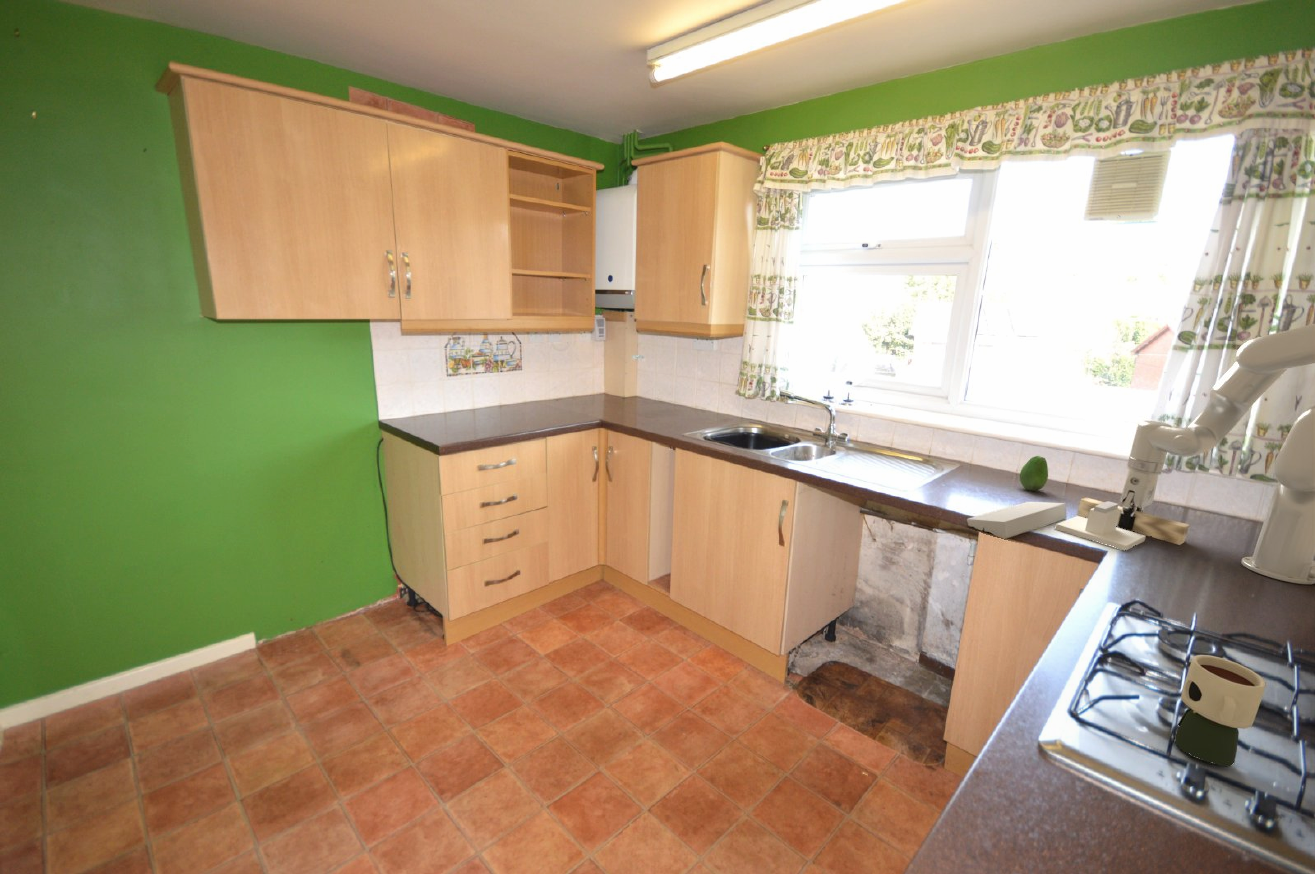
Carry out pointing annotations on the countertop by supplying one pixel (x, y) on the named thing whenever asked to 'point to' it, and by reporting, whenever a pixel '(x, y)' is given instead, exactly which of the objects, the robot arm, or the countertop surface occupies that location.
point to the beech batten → (1145, 523)
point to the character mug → (1217, 708)
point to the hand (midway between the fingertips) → (1128, 526)
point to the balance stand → (1102, 527)
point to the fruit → (1034, 473)
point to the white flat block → (1019, 518)
